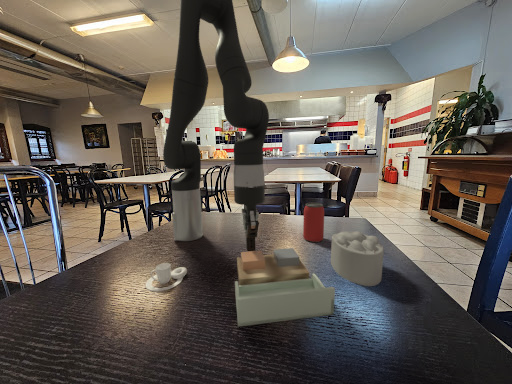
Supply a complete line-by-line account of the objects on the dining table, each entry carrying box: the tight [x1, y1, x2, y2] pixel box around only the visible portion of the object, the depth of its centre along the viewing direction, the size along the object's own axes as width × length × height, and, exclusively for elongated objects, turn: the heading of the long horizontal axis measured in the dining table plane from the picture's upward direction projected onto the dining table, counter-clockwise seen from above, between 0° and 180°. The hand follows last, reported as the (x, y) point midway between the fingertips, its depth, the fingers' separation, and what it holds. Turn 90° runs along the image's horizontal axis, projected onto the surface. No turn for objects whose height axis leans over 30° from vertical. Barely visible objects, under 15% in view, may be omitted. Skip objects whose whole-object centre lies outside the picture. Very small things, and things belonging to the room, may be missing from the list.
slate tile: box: [272, 247, 300, 267], centre depth 52 cm, size 5×5×2 cm
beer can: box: [302, 202, 325, 243], centre depth 72 cm, size 7×7×12 cm
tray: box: [234, 273, 336, 328], centre depth 41 cm, size 17×8×5 cm, turn 98°
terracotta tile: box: [240, 250, 265, 270], centre depth 51 cm, size 5×5×2 cm
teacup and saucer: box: [144, 262, 188, 292], centre depth 50 cm, size 9×8×4 cm
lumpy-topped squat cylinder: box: [330, 230, 385, 287], centre depth 52 cm, size 10×13×9 cm
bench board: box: [236, 254, 310, 286], centre depth 51 cm, size 15×10×3 cm, turn 98°
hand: (250, 249), depth 56 cm, fingers closed
